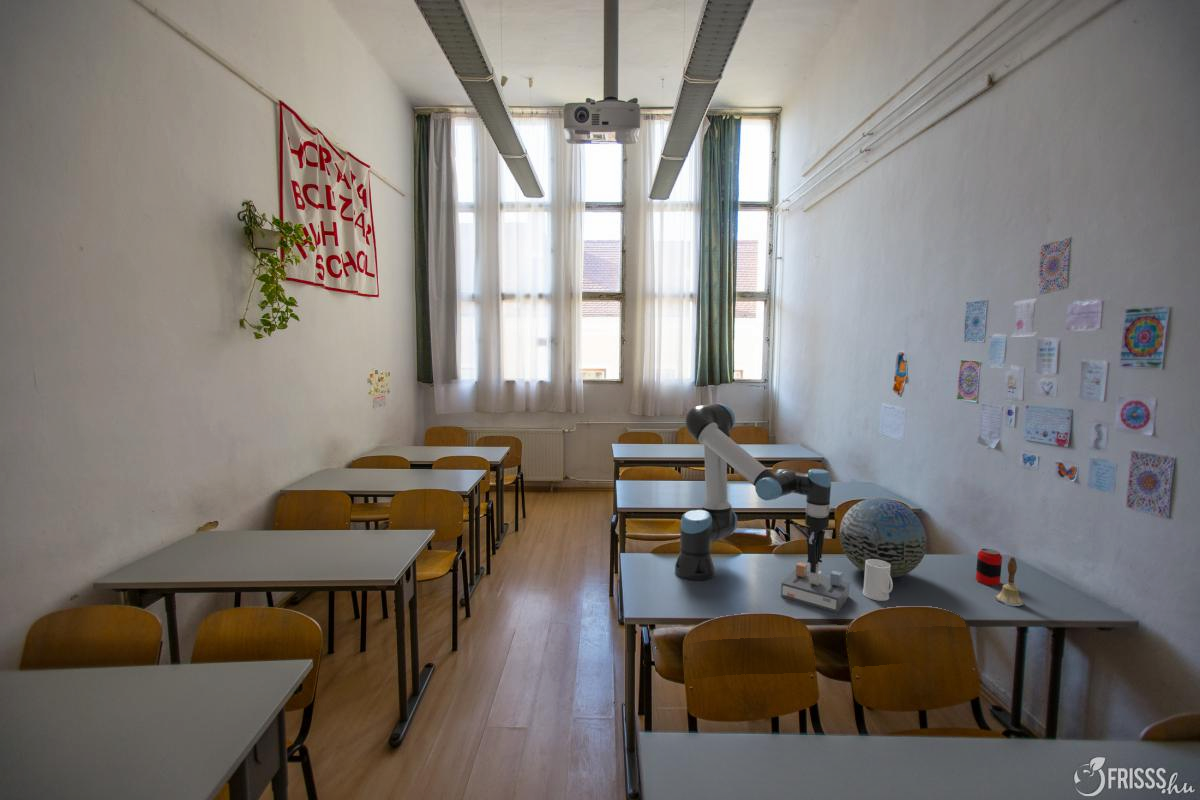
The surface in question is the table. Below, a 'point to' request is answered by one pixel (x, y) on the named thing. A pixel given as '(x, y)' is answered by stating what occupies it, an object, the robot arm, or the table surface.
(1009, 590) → the hand bell
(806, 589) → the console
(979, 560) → the soda can
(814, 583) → the slider ivory
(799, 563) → the slider terracotta
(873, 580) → the mug
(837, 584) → the block
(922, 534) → the decorative globe
